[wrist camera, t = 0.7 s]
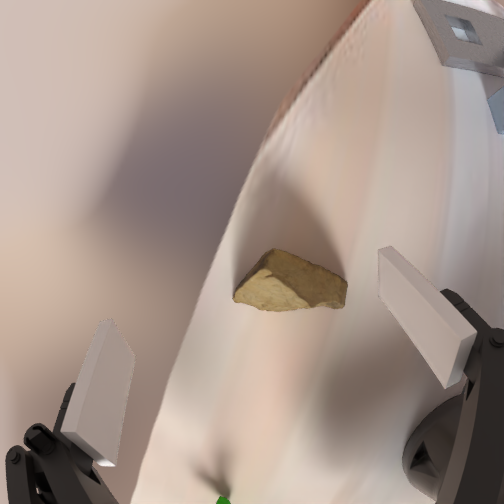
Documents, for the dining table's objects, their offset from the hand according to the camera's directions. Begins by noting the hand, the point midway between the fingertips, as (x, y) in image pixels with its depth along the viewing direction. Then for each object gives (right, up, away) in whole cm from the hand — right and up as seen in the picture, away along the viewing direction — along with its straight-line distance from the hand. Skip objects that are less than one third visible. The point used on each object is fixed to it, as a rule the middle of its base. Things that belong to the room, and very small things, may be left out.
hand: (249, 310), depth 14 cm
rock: (+4, -1, +17) cm, 18 cm away
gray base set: (+37, +34, +14) cm, 52 cm away
